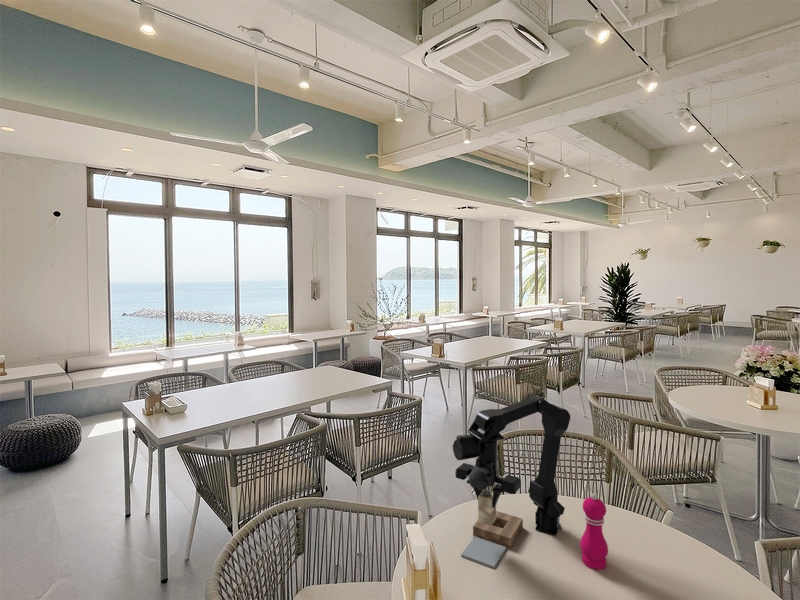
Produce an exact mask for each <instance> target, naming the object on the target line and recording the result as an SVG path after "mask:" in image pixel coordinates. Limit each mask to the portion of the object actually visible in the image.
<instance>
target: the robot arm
mask: <svg viewBox="0 0 800 600" xmlns="http://www.w3.org/2000/svg"><path fill="white" fill-rule="evenodd" d="M536 413H539V414H540V415H541V425H542V427H543V430H544V434H543V435H544V436H543V442H542V448H541V456H540V461H539V468H538V469H539V470H538V475H537V476H536V478H534V479H533V480H532V479H531V480H530V481H529V487H528V490H527V493H528V494H529V495H528V496H529V498H530V500H531V501H532V502H533V504H534V505H535V506H536V508H537V509H536V511H535V513H534V514H535V519H534V520H535V530H536V531H539V532H543V533H546V534H548V535H552V536H558V533H559V531H560V529H561V526H562V524H561V523H560V517H561V516H562V515H564V513H565V507H564V506H563V505H562V504H561V503H560V502H559V501H558V496H559V495H558V494H559V493H558V488H557V486H556V483H555V480H556V479H555V478H556V472H557V464H558V458H559V452H560V447H561V446H560V445H561V439H562V436H563V435H564V434H565V433H566V431H567V430H568V427H569V426H570V421H571V414H570V412H569V411H568V410H567V409H565V408H563V407H560V406H557V405H555V404H553V403H550V402H549V401H547V400H546V399H545V398H542V397H541V396H538V395H531V396H530V397H529V398H526V399H523V400H521V401H517V402H515V403H513V404H510V405H508V406H505V407H502V408H489V409H484V410H483V409H482V410H480V411H478V412H477V413H476V416H475V419H474V420H473V422H472V424H471V425H470V427H469V428H468V430H467V434H464V435H462V434H461V435H460V434H459V435H456V439H455V440H454V441H453V444H452V451H453V456H454V458H455V459H456V460H457V461H463V460H469V459H475V458H476V460H475V465H473V464H469V463H466V462H464V463H462V464H461V465H459V466H458V467H457V468H456V469H455V472H454V473H455V478H456V479H459V480H462V481H466V483H467V484H469V485H470V487H471V488H473V491H474V493H475V496H476V499H477V500H478V495H479V494H480V493H481V492H482V491H483V490H487V488H489V487H493V488H492V489H491V490H492V493H493V503H492V504H493V508H495V506H496V507H497V503H498V501H499V499H500V496H501V494H503V493H508V494H511V495H515V494H516V493H517V492H518V490H519V489H520V488H521V487H522V485H521V484H522V481H521V479H520V477H518V476H515V475H511V474H506V475H505V476H498V474H499V470H500V469H498V461H499V460H500V458H499V457H500V456H498V441H501V440H505V436H503V435H502V434H501V432H502V431H503V430H505V429H506V427H507V426H508V425H509V424H511V423H514V422H516V421H518V420H522V419H524V418H526V417H530V416H531V415H534V414H536ZM479 430H481V431H482V432H483V433H482V432H480V431H479ZM466 479H467V480H466ZM494 485H495V486H494Z"/></svg>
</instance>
